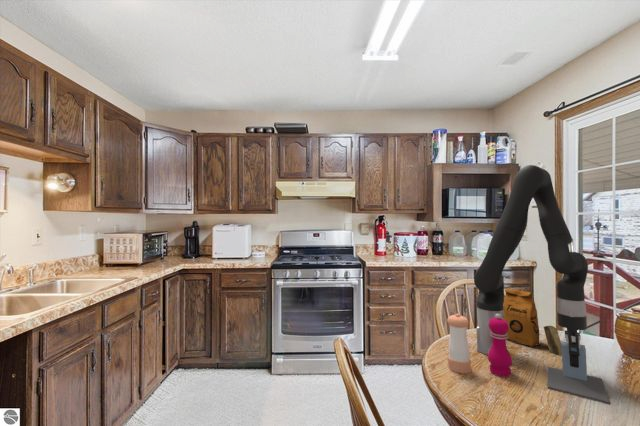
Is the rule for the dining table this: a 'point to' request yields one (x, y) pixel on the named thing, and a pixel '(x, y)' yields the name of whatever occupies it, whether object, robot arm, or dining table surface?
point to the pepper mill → (499, 348)
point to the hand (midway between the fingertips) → (573, 361)
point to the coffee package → (521, 317)
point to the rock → (553, 340)
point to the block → (572, 371)
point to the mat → (577, 385)
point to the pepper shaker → (458, 344)
